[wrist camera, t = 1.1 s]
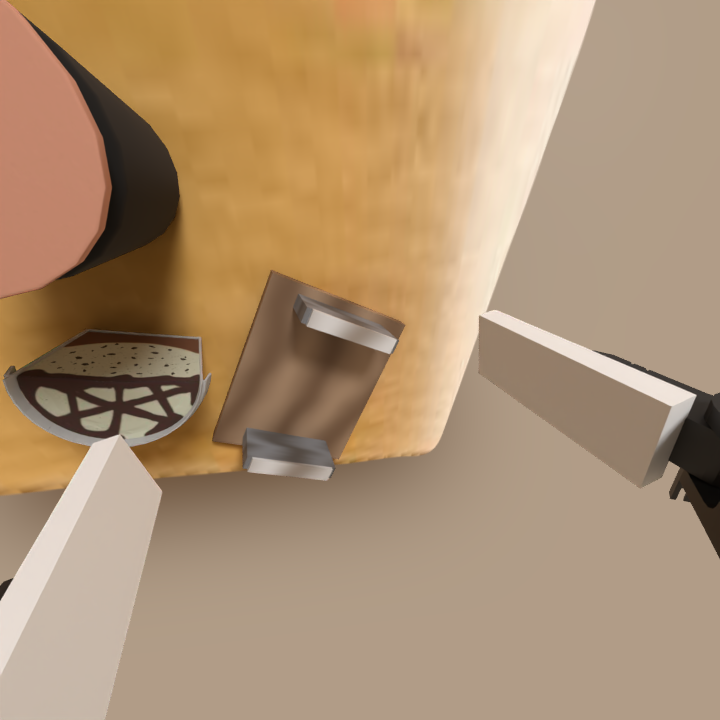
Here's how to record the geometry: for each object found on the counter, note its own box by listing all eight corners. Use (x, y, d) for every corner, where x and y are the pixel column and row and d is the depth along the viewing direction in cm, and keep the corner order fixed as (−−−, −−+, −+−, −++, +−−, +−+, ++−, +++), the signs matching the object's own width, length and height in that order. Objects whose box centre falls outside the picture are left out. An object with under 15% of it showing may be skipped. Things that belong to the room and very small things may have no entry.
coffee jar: (4, 60, 21) (-609, -312, 6) (186, 123, 25) (103, 1, 10) (22, 229, 25) (-327, 269, 10) (178, 260, 29) (109, 323, 14)
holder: (213, 432, 37) (208, 475, 31) (271, 269, 32) (278, 284, 26) (335, 451, 44) (350, 489, 39) (399, 321, 39) (428, 341, 33)
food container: (74, 388, 31) (10, 458, 22) (65, 327, 29) (-10, 379, 20) (215, 390, 35) (207, 450, 27) (217, 338, 33) (209, 385, 25)
